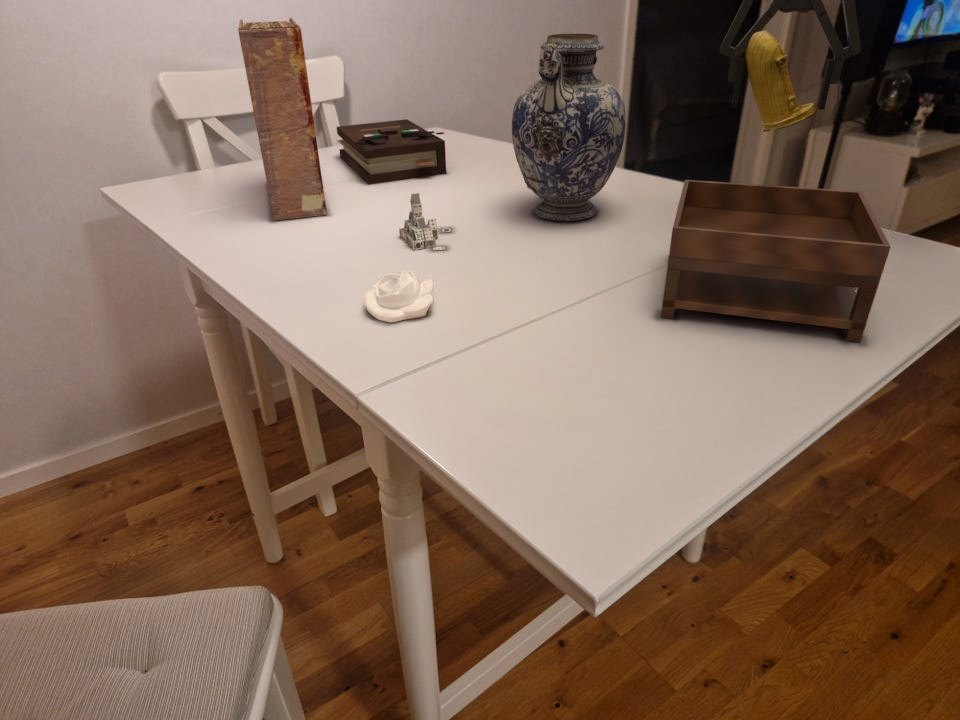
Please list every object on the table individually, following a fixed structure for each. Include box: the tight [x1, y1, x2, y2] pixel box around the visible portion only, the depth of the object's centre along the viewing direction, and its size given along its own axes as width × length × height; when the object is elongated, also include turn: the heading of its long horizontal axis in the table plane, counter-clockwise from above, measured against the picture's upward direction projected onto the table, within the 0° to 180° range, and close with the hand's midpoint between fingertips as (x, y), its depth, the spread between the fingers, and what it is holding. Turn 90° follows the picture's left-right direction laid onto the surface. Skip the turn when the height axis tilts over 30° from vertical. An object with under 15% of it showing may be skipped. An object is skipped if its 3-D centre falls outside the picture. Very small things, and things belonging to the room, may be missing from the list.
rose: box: [363, 269, 434, 323], centre depth 84 cm, size 10×4×10 cm
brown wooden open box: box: [660, 179, 891, 343], centre depth 82 cm, size 22×20×12 cm
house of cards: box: [398, 192, 451, 251], centre depth 103 cm, size 9×9×8 cm
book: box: [237, 17, 328, 222], centre depth 118 cm, size 25×9×30 cm, turn 17°
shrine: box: [744, 22, 818, 133], centre depth 96 cm, size 12×8×15 cm
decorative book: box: [336, 118, 447, 185], centre depth 144 cm, size 19×8×30 cm
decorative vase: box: [511, 33, 627, 223], centre depth 108 cm, size 21×19×28 cm
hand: (776, 106), depth 98 cm, fingers closed on shrine, 11 cm apart
